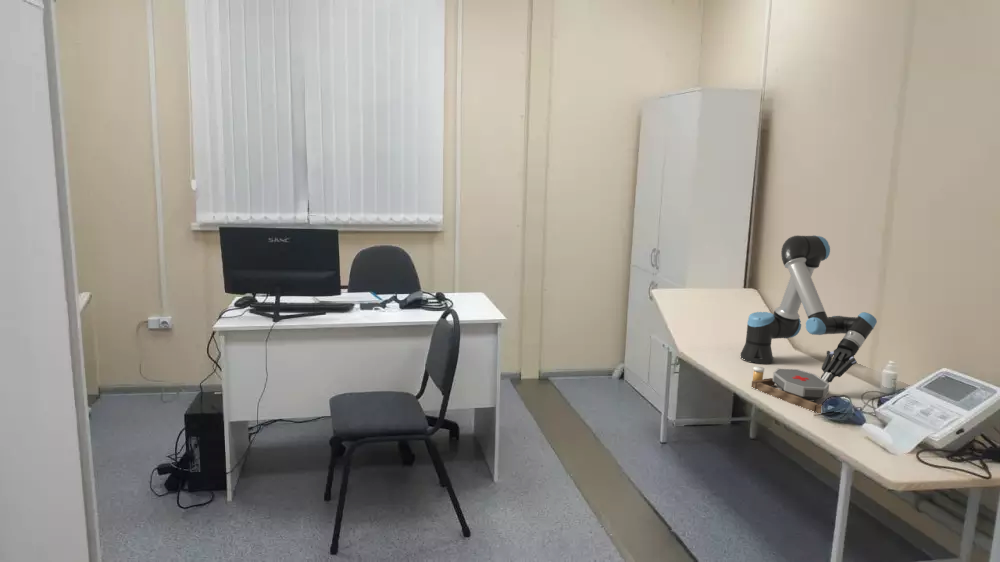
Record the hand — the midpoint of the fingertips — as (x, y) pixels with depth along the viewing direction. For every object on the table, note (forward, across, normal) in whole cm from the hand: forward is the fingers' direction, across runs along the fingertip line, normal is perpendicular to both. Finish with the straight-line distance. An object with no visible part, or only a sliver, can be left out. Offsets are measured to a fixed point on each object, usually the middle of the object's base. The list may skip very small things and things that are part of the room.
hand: (821, 386), depth 273 cm
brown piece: (+13, -1, -8) cm, 15 cm away
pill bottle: (+13, -20, -8) cm, 25 cm away
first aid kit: (+10, -3, -4) cm, 11 cm away
